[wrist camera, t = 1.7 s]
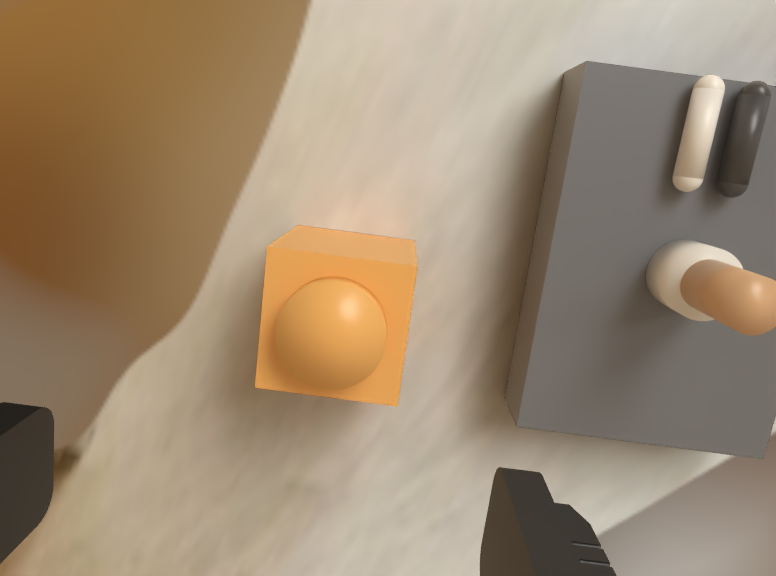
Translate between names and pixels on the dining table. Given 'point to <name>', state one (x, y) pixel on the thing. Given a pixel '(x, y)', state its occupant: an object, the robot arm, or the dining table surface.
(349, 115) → the dining table surface
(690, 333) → the button control panel
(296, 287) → the orange domed cube
